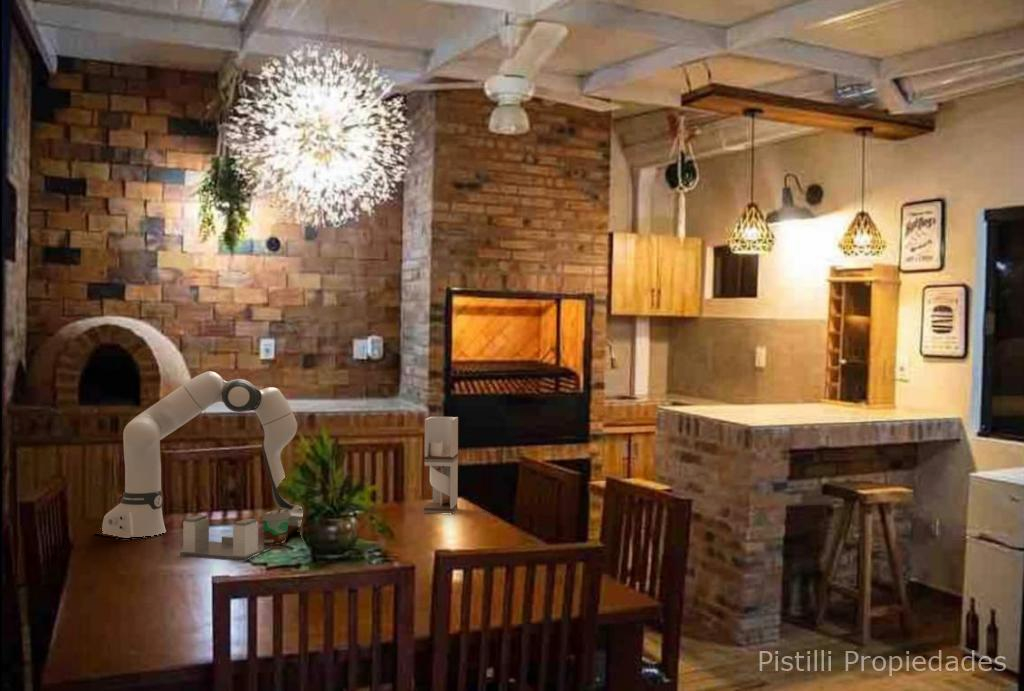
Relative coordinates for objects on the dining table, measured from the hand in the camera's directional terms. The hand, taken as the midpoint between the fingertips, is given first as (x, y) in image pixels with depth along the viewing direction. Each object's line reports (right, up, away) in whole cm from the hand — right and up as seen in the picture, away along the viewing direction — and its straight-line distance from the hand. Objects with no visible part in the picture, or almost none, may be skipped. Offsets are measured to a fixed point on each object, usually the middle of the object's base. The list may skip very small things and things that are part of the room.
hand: (283, 523), depth 294 cm
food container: (-1, -6, -2) cm, 6 cm away
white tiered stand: (+47, -5, +51) cm, 69 cm away
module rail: (-13, -6, -18) cm, 23 cm away
